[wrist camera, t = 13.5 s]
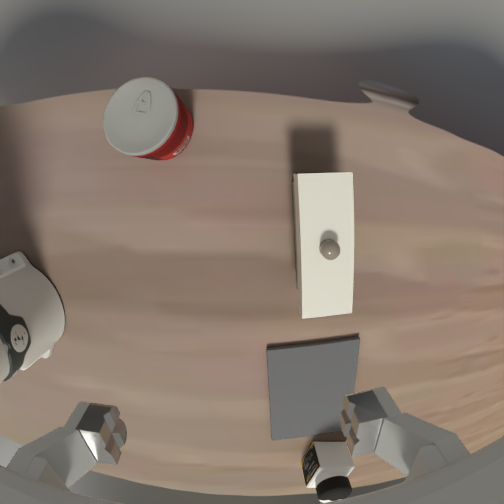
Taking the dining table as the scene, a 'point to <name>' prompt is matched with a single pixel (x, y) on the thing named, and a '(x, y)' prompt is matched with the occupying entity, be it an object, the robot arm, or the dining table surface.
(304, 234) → the lid
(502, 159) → the dining table surface
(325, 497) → the medicine bottle
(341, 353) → the mat
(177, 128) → the canned food
